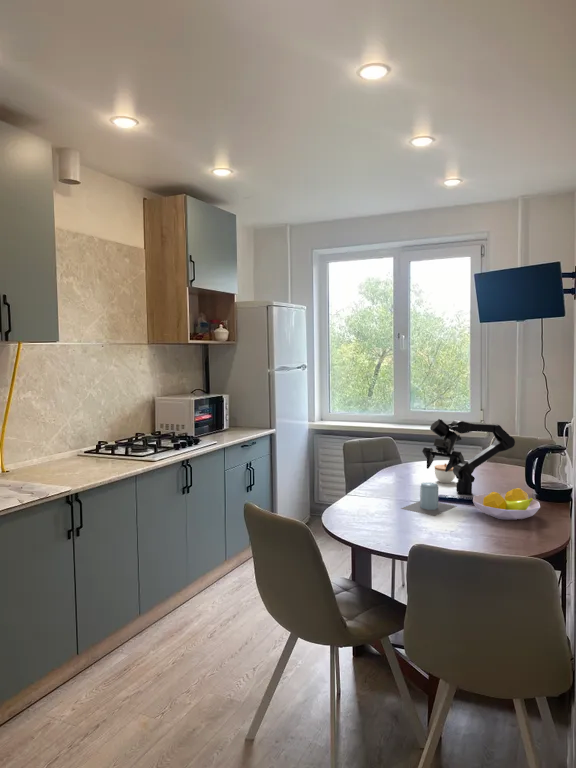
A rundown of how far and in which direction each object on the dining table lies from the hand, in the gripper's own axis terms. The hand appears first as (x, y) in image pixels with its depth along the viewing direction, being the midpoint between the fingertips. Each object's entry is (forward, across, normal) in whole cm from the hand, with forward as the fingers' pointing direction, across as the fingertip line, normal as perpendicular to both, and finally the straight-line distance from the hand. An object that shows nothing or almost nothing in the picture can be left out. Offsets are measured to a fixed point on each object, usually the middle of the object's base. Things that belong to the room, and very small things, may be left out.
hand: (436, 469), depth 263 cm
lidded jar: (-14, -13, +34) cm, 39 cm away
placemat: (+20, +5, -1) cm, 21 cm away
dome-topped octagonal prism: (+20, +5, -2) cm, 21 cm away
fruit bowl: (+12, +34, +7) cm, 37 cm away
